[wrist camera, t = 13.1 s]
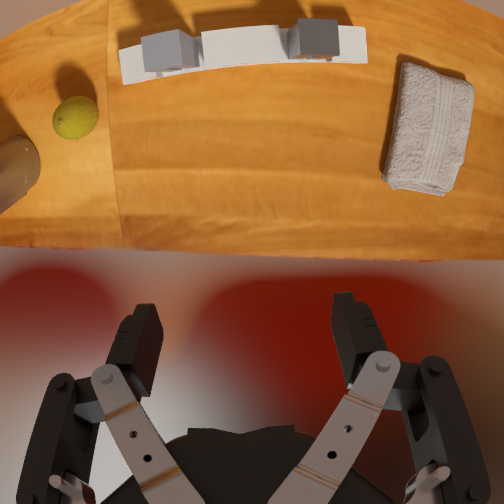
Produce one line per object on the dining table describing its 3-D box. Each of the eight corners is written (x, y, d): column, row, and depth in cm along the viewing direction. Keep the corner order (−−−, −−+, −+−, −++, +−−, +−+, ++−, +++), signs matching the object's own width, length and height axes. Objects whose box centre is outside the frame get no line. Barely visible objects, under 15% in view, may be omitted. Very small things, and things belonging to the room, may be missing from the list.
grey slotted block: (318, 59, 32) (339, 55, 24) (288, 59, 32) (300, 54, 24) (316, 32, 30) (337, 19, 22) (286, 32, 30) (297, 18, 22)
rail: (355, 30, 30) (388, 19, 21) (358, 63, 32) (391, 62, 24) (129, 51, 31) (91, 47, 23) (133, 83, 34) (96, 89, 25)
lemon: (74, 94, 34) (41, 102, 27) (109, 92, 34) (79, 98, 27) (74, 132, 37) (42, 147, 30) (108, 131, 37) (79, 146, 30)
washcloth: (377, 183, 42) (385, 191, 39) (396, 58, 32) (406, 58, 29) (444, 193, 42) (453, 201, 39) (465, 81, 32) (478, 84, 30)
